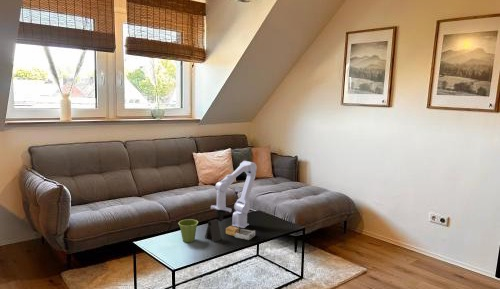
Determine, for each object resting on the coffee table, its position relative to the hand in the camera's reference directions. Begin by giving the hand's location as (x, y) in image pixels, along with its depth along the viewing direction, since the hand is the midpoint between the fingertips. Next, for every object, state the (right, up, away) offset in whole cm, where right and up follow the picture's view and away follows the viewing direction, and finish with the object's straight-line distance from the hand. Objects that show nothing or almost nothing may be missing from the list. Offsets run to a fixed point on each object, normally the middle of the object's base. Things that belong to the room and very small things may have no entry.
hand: (220, 220), depth 236 cm
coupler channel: (+16, -8, -6) cm, 19 cm away
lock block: (+8, -8, -3) cm, 11 cm away
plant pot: (-19, -9, -15) cm, 25 cm away
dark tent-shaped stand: (-4, -9, -12) cm, 15 cm away
